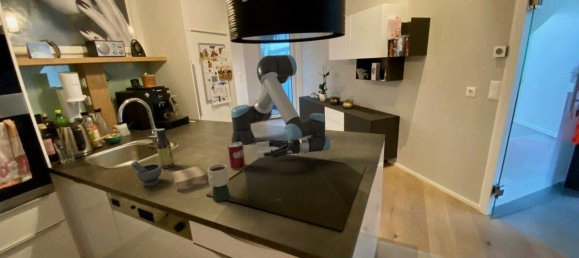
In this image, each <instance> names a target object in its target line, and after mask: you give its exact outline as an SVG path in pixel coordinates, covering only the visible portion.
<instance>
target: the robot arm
mask: <svg viewBox="0 0 579 258" xmlns="http://www.w3.org/2000/svg"><path fill="white" fill-rule="evenodd" d="M297 67H298V66H297V61H296V59H295V58H294V57H293V56H292V55H290V54H276V55H275V54H274V55H273V54H272V55H271V54H269V55H264V56H263V57H262V58H261V59H260V60H259V61H258V63H257V66H256V76H257V78H258V81H259V82H260V84H261V85H263V86H264V87H263V89H262V92H261V93H260V96H259V98H258V99H257V100H255V101H254V104H253V105H249V104H240V105H237V106H234V107H233V108H232V109H231V110H230V114H231V115H230V117H231V123H232V129H233V131H232V135H231V143H235V142H240V143H242V144H243V146H244V145H248V144H252V143H254V142H255V140H256V139H255V138H256V137H255V134H254V132H253V130H252V125H253V124H258V123H263V122H266V121H269V120H270V119H271V118H272V116H273V110H272V106H271V105H272V104H273V105H274V106H275V108H276V110H277V111H278V113H279V115H280V116H281V118H282V120H283V122H284V124H285V127H284V134H285V137H286V139H288V140H277V139H276V140H275V139H270V140H269V141H262V142H261V141H260V142H256V143H255V144H256V148H257V149H262V148H263V149H264V148H271V147H273V148H276V149H274V150H272V149H270V150H264V151H263V150H261V151H256V158H257V159H259V158H260V159H261V158H270V157H271V158H272V159H276V158H280V157H284V156H286V155H292V154H293V155H296V154H306V153H315V152H316V153H317V152H318V153H319V152H325V151H329V150H330V148H331V141H330V139H331V138H330V137H329V136H328V135H326V119H325V118H326V117H325V114H324V113H321V112H313V113H311V114H309V117H308V118H309V119H305V120H302V118H301V117H300V115H299V113H298V112H297V110H296V109H295V106H294V104H293V103H292V101H291V99H290V98H289V96H288V95H287V92H286V91H285V89H284V87H283V86H282V85H284V84H286V83H287V82H288V80H289V77H294V76H295V75H296V73H297V71H298V69H297ZM308 136H309V137H308ZM289 140H290V142H289Z"/></svg>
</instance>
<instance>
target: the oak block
mask: <svg viewBox="0 0 579 258" xmlns="http://www.w3.org/2000/svg"><path fill="white" fill-rule="evenodd" d="M171 176H172V182H173V185H174V186H175V189H176V191H177V192H180V191H183V190H187V189H191V188H194V187H198V186H201V185H204V184H207V183H208V182H207V181H208V179H207V174H206V173H205V171H204V170H203V168H202V167H201V166H200V165H195V166H192V167H188V168H184V169H180V170H177V171H176V170H175V171H172V172H171Z"/></svg>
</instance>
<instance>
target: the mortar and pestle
mask: <svg viewBox="0 0 579 258" xmlns="http://www.w3.org/2000/svg"><path fill="white" fill-rule="evenodd" d="M130 166H131V168H134V169H135V175H136V176H137V178H138V180H140V181H141V182H143V183H142V184H143V185H144V186H145V187H149V186H154V185H156V184H158V183H159V182H160V178H159V177H160V176H161V174H162V168H161V164H159V163H152V164H145V165H141V164H140V163H139V161H138V160H135V161H133V162H132V163H131V164H130Z"/></svg>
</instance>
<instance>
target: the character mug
mask: <svg viewBox="0 0 579 258" xmlns="http://www.w3.org/2000/svg"><path fill="white" fill-rule="evenodd" d="M207 177H208V179H207V181H208V185H209V187H212V200H213V201H216V202H222V201H226V200H228V199H229V198H230V197H231V196H230V195H231V193H230V190H229V186H228V183H229V182H230V181H229V180H230V179H229V177H230V176H229V170H228V165H227V164H225V163H216V164H215V163H214V164H212V165H209V167H208V168H207Z"/></svg>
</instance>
